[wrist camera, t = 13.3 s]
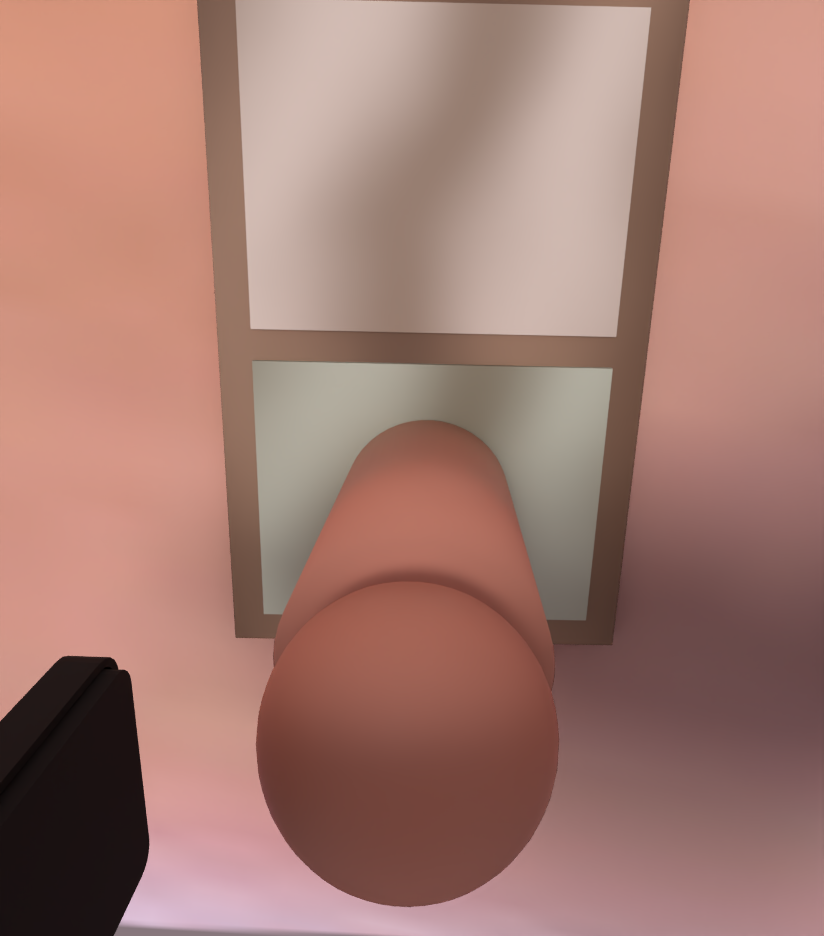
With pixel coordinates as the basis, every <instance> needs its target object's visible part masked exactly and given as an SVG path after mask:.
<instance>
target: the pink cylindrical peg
mask: <svg viewBox="0 0 824 936" xmlns="http://www.w3.org/2000/svg"><path fill="white" fill-rule="evenodd" d="M273 660H274V669H273V671H272V673H271V675H270V678H269V680H268V683H267V685H266V688H265V692H264V695H263V698H262V702H261V706H260V711H259V715H258V725H257V738H256V751H257V763H258V773H259V778H260V783H261V787H262V791H263V794H264V797H265V800H266V803H267V806H268V808H269V811H270V814H271V816H272V818H273V820H274V822H275V824H276V825H277V827H278V829H279V831H280V832H281V834H282V836H283V837H284V839H285V841H286V842H287V844H288V845H289V846H290V848H291V849H292V850H293V852H294V853H295V854H296V855H297V856H298V857H299V858H300V859H301V860H302V861H303V862H304V863H305V864H306V865H307V866H308V867H309V868H310V869H311V870H312V871H313V872H314V873H316V874H317V875H318V876H319V877H321V878H322V879H323V880H324V881H326V882H327V883H329V884H331V885H332V886H334V887H335V888H337V889H339V890H341V891H343V892H345V893H347V894H349V895H352V896H354V897H357V898H360V899H363V900H366V901H370V902H374V903H378V904H382V905H389V906H400V907H413V906H426V905H432V904H438V903H442V902H446V901H449V900H453V899H456V898H458V897H461V896H463V895H465V894H468V893H470V892H471V891H473V890H475V889H477V888H479V887H480V886H482V885H484V884H485V883H487V882H488V881H490V880H491V879H492V878H494V877H495V876H497V875H498V874H499V873H501V872H502V871H503V870H504V869H505V868H506V867H507V866H508V865H509V864H510V863H511V862H512V861H513V860H514V859H515V858H516V857H517V855H518V854H519V853H520V852H521V851H522V849H523V848H524V847H525V846H526V844H527V843H528V842H529V841H530V839H531V837H532V836H533V834H534V832H535V830H536V829H537V827H538V825H539V823H540V821H541V819H542V817H543V815H544V813H545V811H546V808H547V806H548V803H549V801H550V797H551V794H552V790H553V786H554V782H555V777H556V773H557V765H558V750H559V733H558V722H557V715H556V709H555V705H554V701H553V697H552V693H551V691H552V686H553V682H554V671H555V658H554V647H553V643H552V638H551V634H550V630H549V627H548V623H547V620H546V616H545V613H544V609H543V606H542V602H541V599H540V595H539V592H538V588H537V585H536V581H535V578H534V574H533V571H532V568H531V564H530V561H529V557H528V554H527V550H526V547H525V543H524V540H523V536H522V533H521V529H520V526H519V522H518V519H517V515H516V512H515V508H514V505H513V501H512V498H511V494H510V491H509V487H508V484H507V480H506V477H505V474H504V472H503V469H502V467H501V465H500V463H499V461H498V459H497V458H496V456H495V455H494V454H493V452H492V451H491V450H490V448H489V447H488V446H487V445H486V444H485V443H484V442H483V441H482V440H480V439H479V438H478V437H476V436H475V435H474V434H472V433H470V432H469V431H467V430H465V429H463V428H461V427H458V426H456V425H453V424H450V423H446V422H441V421H434V420H419V421H410V422H406V423H402V424H399V425H396V426H394V427H391V428H389V429H387V430H385V431H384V432H382V433H380V434H379V435H377V436H376V437H375V438H373V439H372V440H371V441H370V442H369V443H368V444H367V445H366V446H365V447H364V448H363V449H362V450H361V452H360V453H359V454H358V456H357V457H356V459H355V461H354V463H353V464H352V466H351V469H350V471H349V473H348V475H347V477H346V479H345V481H344V484H343V486H342V488H341V490H340V492H339V494H338V496H337V498H336V501H335V503H334V505H333V507H332V509H331V511H330V513H329V516H328V518H327V520H326V522H325V524H324V526H323V528H322V530H321V533H320V535H319V537H318V539H317V541H316V543H315V545H314V547H313V550H312V552H311V554H310V556H309V558H308V560H307V562H306V565H305V567H304V569H303V571H302V573H301V575H300V577H299V579H298V582H297V584H296V586H295V588H294V590H293V592H292V594H291V597H290V599H289V601H288V603H287V605H286V607H285V609H284V612H283V614H282V617H281V619H280V622H279V624H278V628H277V632H276V637H275V641H274V654H273Z"/></svg>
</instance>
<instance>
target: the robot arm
mask: <svg viewBox="0 0 824 936" xmlns="http://www.w3.org/2000/svg"><path fill="white" fill-rule="evenodd" d="M148 853H149V833H148V825H147V816H146V807H145V798H144V789H143V781H142V772H141V763H140V754H139V745H138V737H137V728H136V719H135V710H134V701H133V692H132V684H131V678H130V675H129V673H128V671H126V670H118V666H117V664H116V662H115V660H114V659H112V658H110V657H84V656H65V657H62V658H61V659H59V660H58V661H57V662H56V663H55V664H54V665H53V666H52V667H51V668H50V669H49V670H48V671H47V672H46V673H45V675H44V676H43V677H42V678H41V679H40V680H39V681H38V682H37V683H36V684H35V685H34V686H33V687H32V688H31V689H30V690H29V691H28V693H27V694H26V695H25V696H24V697H23V698H22V699H21V700H20V701H19V702H18V703H17V704H16V705H15V706H14V707H13V708H12V710H11V711H10V712H9V713H8V714H7V715H6V716H5V717H4V718H3V719H2V720H1V721H0V936H114V934H115V932H116V930H117V928H118V925H119V923H120V921H121V919H122V917H123V915H124V913H125V911H126V909H127V907H128V904H129V902H130V900H131V898H132V896H133V894H134V892H135V890H136V888H137V885H138V883H139V881H140V879H141V877H142V875H143V872H144V870H145V866H146V863H147V858H148Z"/></svg>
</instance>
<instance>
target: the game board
mask: <svg viewBox="0 0 824 936" xmlns="http://www.w3.org/2000/svg"><path fill="white" fill-rule="evenodd" d="M689 3H690V0H197V6H198V23H199V39H200V56H201V72H202V89H203V106H204V122H205V139H206V155H207V172H208V188H209V205H210V221H211V238H212V255H213V271H214V288H215V304H216V321H217V337H218V354H219V371H220V387H221V404H222V420H223V437H224V453H225V470H226V486H227V503H228V520H229V536H230V553H231V569H232V586H233V602H234V619H235V635H236V638H275V637H276V632H277V628H278V624H279V622H280V619H281V617H282V614H283V612H284V609H285V607H286V605H287V603H288V601H289V599H290V597H291V594H292V592H293V590H294V588H295V586H296V584H297V582H298V579H299V577H300V575H301V573H302V571H303V569H304V567H305V565H306V562H307V560H308V558H309V556H310V554H311V552H312V550H313V547H314V545H315V543H316V541H317V539H318V537H319V535H320V533H321V530H322V528H323V526H324V524H325V522H326V520H327V518H328V516H329V513H330V511H331V509H332V507H333V505H334V503H335V501H336V498H337V496H338V494H339V492H340V490H341V488H342V486H343V484H344V481H345V479H346V477H347V475H348V473H349V471H350V469H351V466H352V464H353V463H354V461H355V459H356V457H357V456H358V454H359V453H360V452H361V450H362V449H363V448H364V447H365V446H366V445H367V444H368V443H369V442H370V441H371V440H372V439H373V438H375V437H376V436H377V435H379V434H380V433H382V432H384V431H385V430H387V429H389V428H391V427H394V426H396V425H399V424H402V423H406V422H410V421H419V420H434V421H441V422H446V423H450V424H453V425H456V426H458V427H461V428H463V429H465V430H467V431H469V432H470V433H472V434H474V435H475V436H476V437H478V438H479V439H480V440H482V441H483V442H484V443H485V444H486V445H487V446H488V447H489V448H490V450H491V451H492V452H493V454H494V455H495V456H496V458H497V459H498V461H499V463H500V465H501V467H502V469H503V472H504V474H505V477H506V480H507V484H508V487H509V491H510V494H511V498H512V501H513V505H514V508H515V512H516V515H517V519H518V522H519V526H520V529H521V533H522V536H523V540H524V543H525V547H526V550H527V554H528V557H529V561H530V564H531V568H532V571H533V574H534V578H535V581H536V585H537V588H538V592H539V595H540V599H541V602H542V606H543V609H544V613H545V616H546V620H547V623H548V627H549V630H550V634H551V638H552V643H553V644H582V645H612V642H613V633H614V625H615V617H616V608H617V600H618V592H619V583H620V575H621V567H622V559H623V550H624V542H625V534H626V525H627V517H628V509H629V500H630V492H631V484H632V476H633V467H634V459H635V451H636V442H637V434H638V426H639V418H640V409H641V401H642V393H643V384H644V376H645V368H646V359H647V351H648V343H649V335H650V326H651V318H652V310H653V301H654V293H655V285H656V276H657V268H658V260H659V252H660V243H661V235H662V227H663V218H664V210H665V202H666V194H667V185H668V177H669V169H670V160H671V152H672V144H673V135H674V127H675V119H676V111H677V102H678V94H679V86H680V77H681V69H682V61H683V52H684V44H685V36H686V28H687V19H688V11H689Z"/></svg>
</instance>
